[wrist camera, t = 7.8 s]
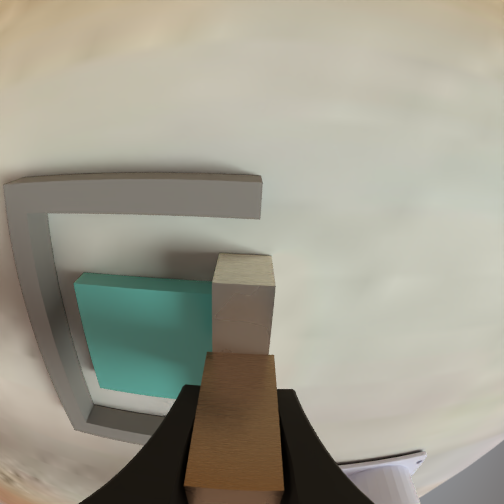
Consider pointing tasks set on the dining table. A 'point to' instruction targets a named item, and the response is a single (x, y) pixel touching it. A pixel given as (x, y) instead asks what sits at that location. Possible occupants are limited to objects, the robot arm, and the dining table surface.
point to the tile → (146, 331)
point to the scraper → (238, 392)
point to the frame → (45, 278)
